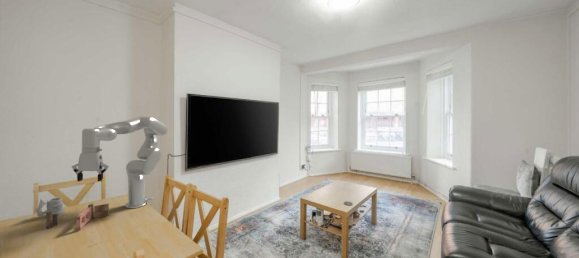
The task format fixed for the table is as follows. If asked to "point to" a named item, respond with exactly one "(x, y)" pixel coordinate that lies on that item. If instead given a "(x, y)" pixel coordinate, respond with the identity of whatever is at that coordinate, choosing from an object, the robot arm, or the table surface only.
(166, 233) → the table surface
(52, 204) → the mug
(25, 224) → the table surface
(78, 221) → the gate
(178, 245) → the table surface
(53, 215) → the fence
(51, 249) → the table surface
